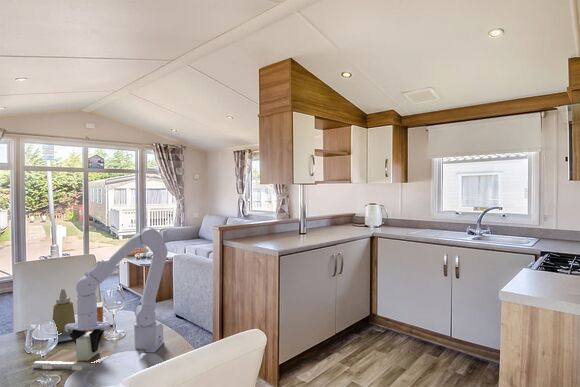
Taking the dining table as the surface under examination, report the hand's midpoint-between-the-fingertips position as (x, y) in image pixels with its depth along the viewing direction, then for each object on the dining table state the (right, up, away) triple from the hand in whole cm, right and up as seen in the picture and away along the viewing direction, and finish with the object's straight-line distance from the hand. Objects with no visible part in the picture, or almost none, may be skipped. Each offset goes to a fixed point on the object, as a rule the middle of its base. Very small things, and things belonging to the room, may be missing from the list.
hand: (88, 351), depth 113 cm
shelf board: (-3, -3, -1) cm, 4 cm away
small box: (-9, -3, +17) cm, 19 cm away
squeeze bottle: (-23, -3, +22) cm, 32 cm away
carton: (0, -2, 0) cm, 2 cm away
